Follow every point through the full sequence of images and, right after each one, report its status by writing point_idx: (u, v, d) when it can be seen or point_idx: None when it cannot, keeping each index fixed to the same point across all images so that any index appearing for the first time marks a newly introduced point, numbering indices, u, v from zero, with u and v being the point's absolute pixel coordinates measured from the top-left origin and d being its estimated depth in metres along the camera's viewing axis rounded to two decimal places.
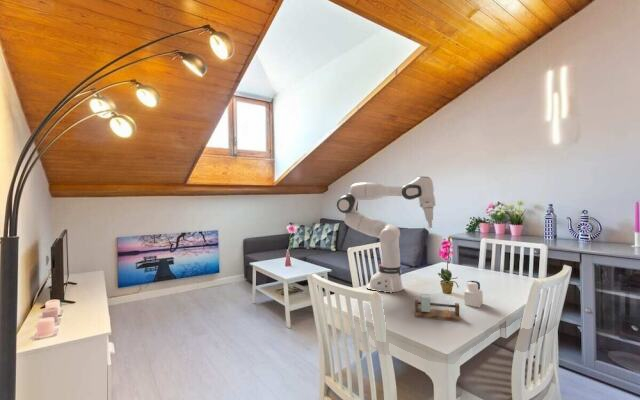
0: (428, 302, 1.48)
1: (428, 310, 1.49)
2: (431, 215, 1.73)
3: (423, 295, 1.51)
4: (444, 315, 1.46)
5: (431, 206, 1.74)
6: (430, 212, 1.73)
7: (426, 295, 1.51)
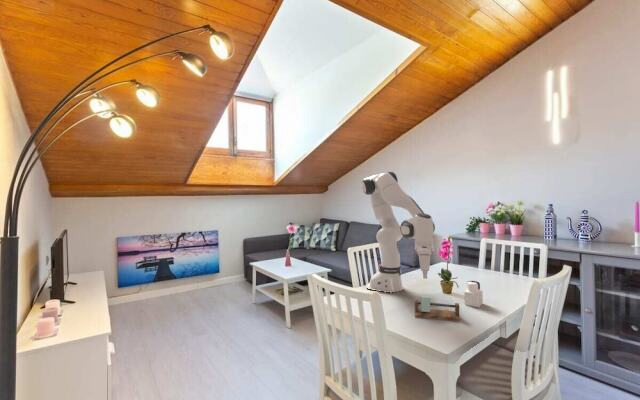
0: (428, 302, 1.48)
1: (428, 310, 1.49)
2: (427, 265, 1.40)
3: (423, 295, 1.51)
4: (444, 315, 1.46)
5: (428, 253, 1.41)
6: (426, 261, 1.41)
7: (426, 295, 1.51)
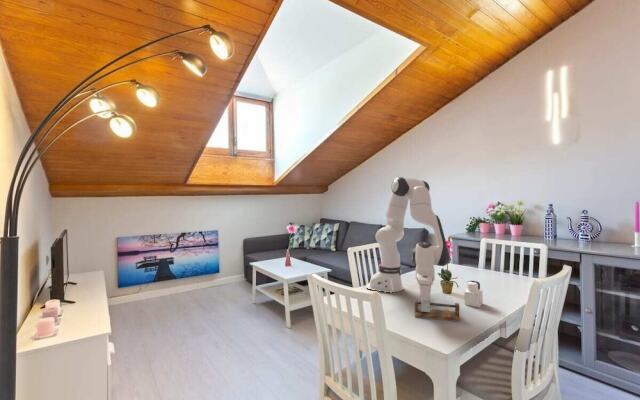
0: (428, 302, 1.48)
1: (428, 310, 1.49)
2: (428, 295, 1.41)
3: None
4: (444, 315, 1.46)
5: (429, 284, 1.42)
6: (426, 291, 1.41)
7: None
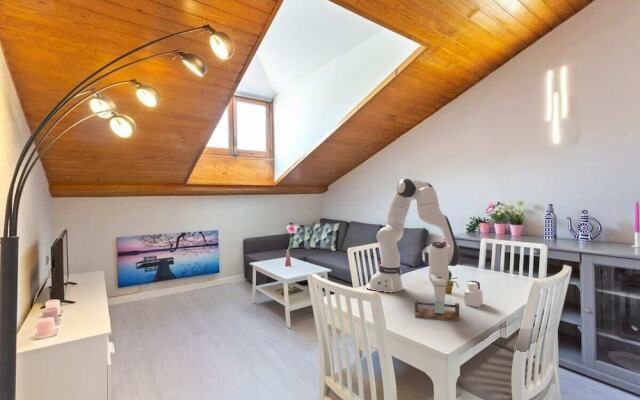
0: (442, 303, 1.46)
1: (442, 311, 1.47)
2: (442, 296, 1.39)
3: None
4: (444, 315, 1.46)
5: (444, 285, 1.40)
6: (441, 293, 1.39)
7: None
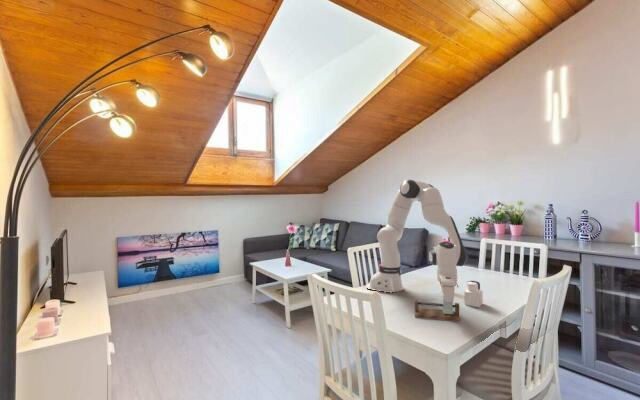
0: (450, 304, 1.45)
1: (450, 312, 1.45)
2: (451, 297, 1.38)
3: None
4: (444, 315, 1.46)
5: (452, 285, 1.39)
6: (450, 293, 1.38)
7: None
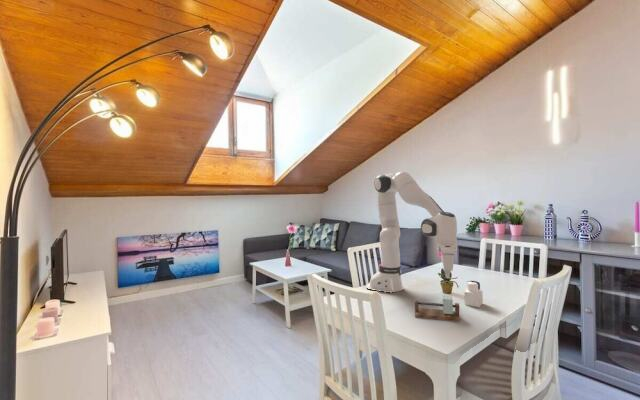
0: (451, 304, 1.45)
1: (451, 312, 1.45)
2: (451, 265, 1.37)
3: (445, 297, 1.48)
4: (444, 315, 1.46)
5: (452, 253, 1.38)
6: (450, 261, 1.38)
7: (448, 297, 1.48)
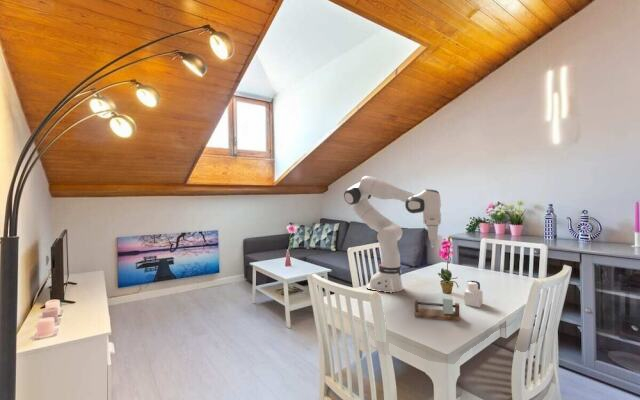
0: (451, 304, 1.45)
1: (451, 312, 1.45)
2: (435, 234, 1.54)
3: (445, 297, 1.48)
4: (444, 315, 1.46)
5: (436, 224, 1.55)
6: (434, 231, 1.54)
7: (448, 297, 1.48)
